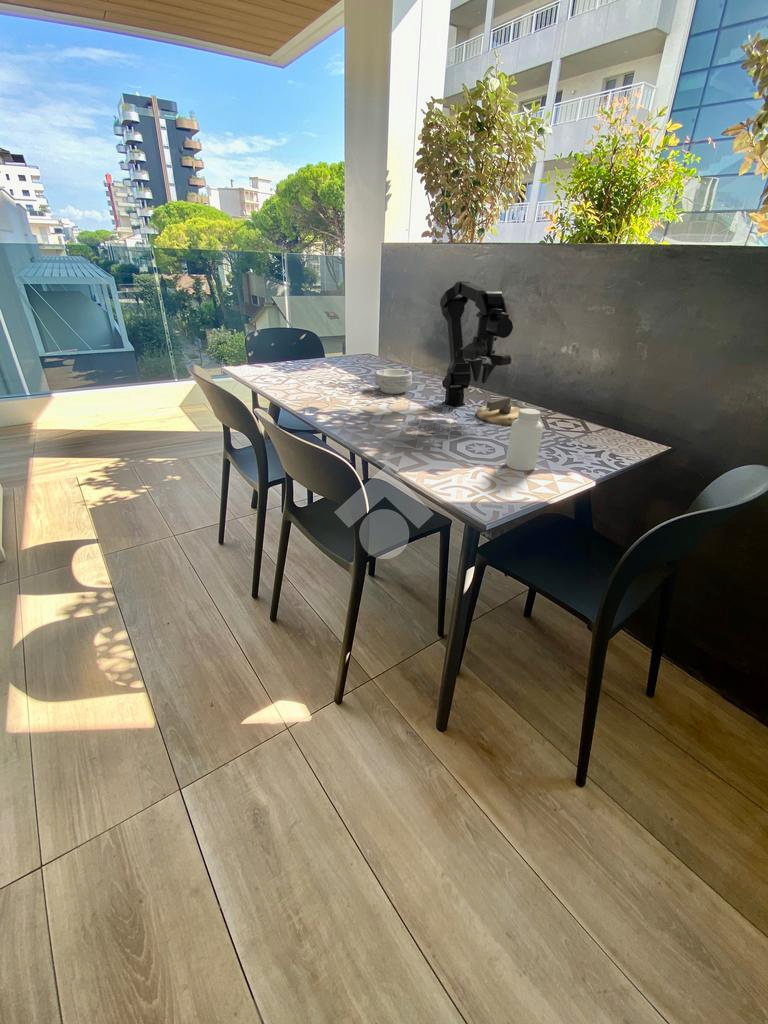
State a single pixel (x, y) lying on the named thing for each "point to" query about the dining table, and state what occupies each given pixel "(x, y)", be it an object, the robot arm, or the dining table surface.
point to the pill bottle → (524, 440)
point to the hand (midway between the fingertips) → (479, 382)
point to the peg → (499, 405)
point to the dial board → (498, 416)
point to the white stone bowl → (393, 380)
